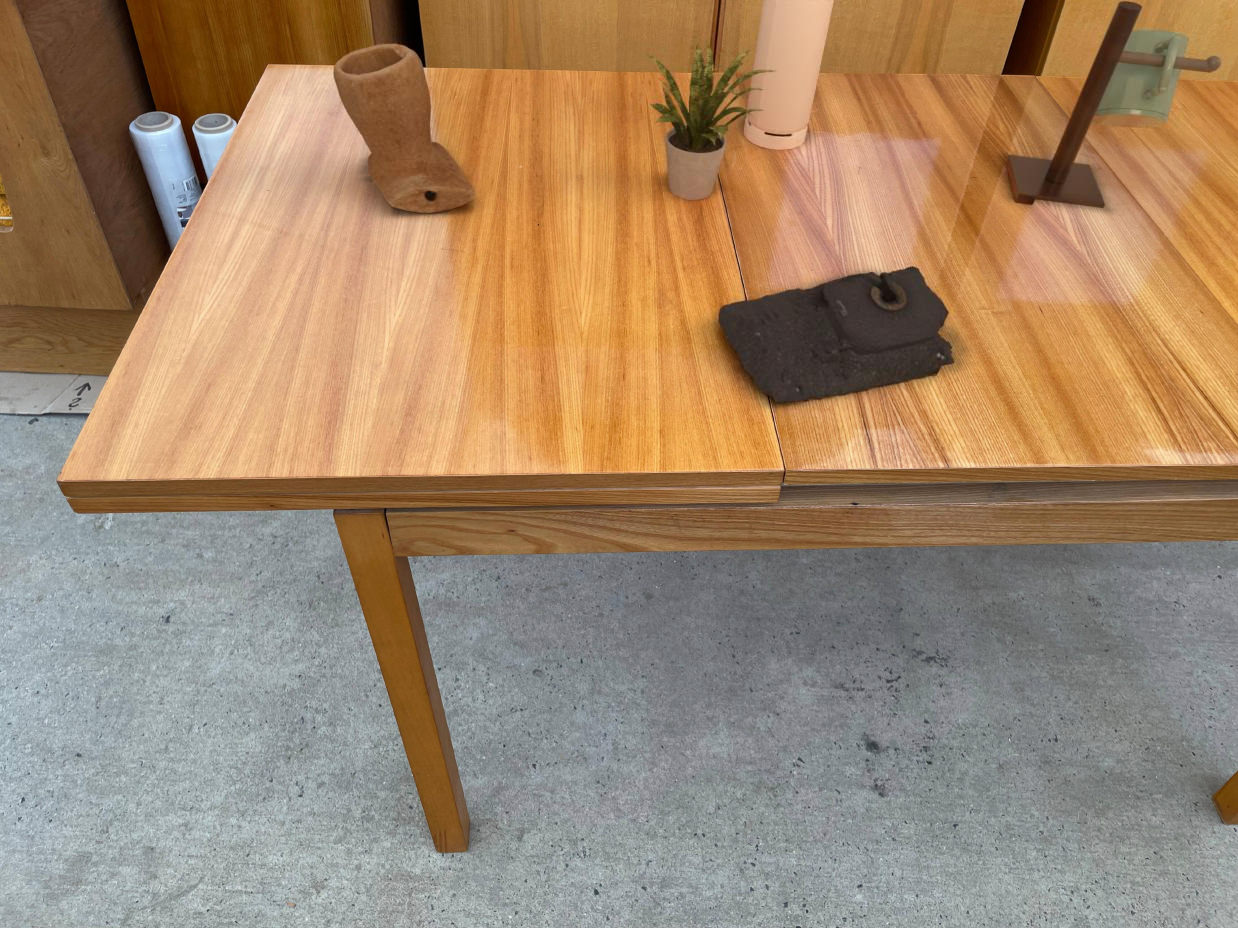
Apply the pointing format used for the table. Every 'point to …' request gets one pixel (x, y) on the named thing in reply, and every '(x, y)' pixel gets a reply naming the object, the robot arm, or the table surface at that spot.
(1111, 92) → the mug
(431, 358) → the table surface
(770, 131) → the bottle
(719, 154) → the house plant
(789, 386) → the dark brown flat slab
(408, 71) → the brown clay vessel
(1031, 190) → the mug stand
